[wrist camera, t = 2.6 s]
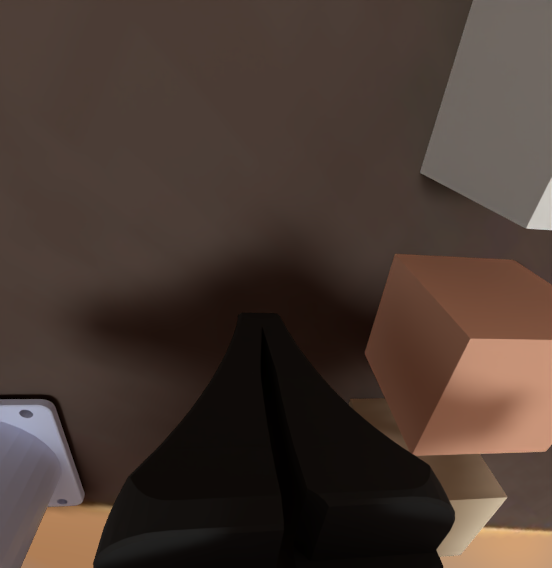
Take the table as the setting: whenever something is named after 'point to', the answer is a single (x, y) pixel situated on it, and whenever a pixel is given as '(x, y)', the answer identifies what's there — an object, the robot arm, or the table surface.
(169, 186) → the table surface
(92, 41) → the table surface
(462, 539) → the birch block
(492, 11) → the light grey block
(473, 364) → the terracotta block
